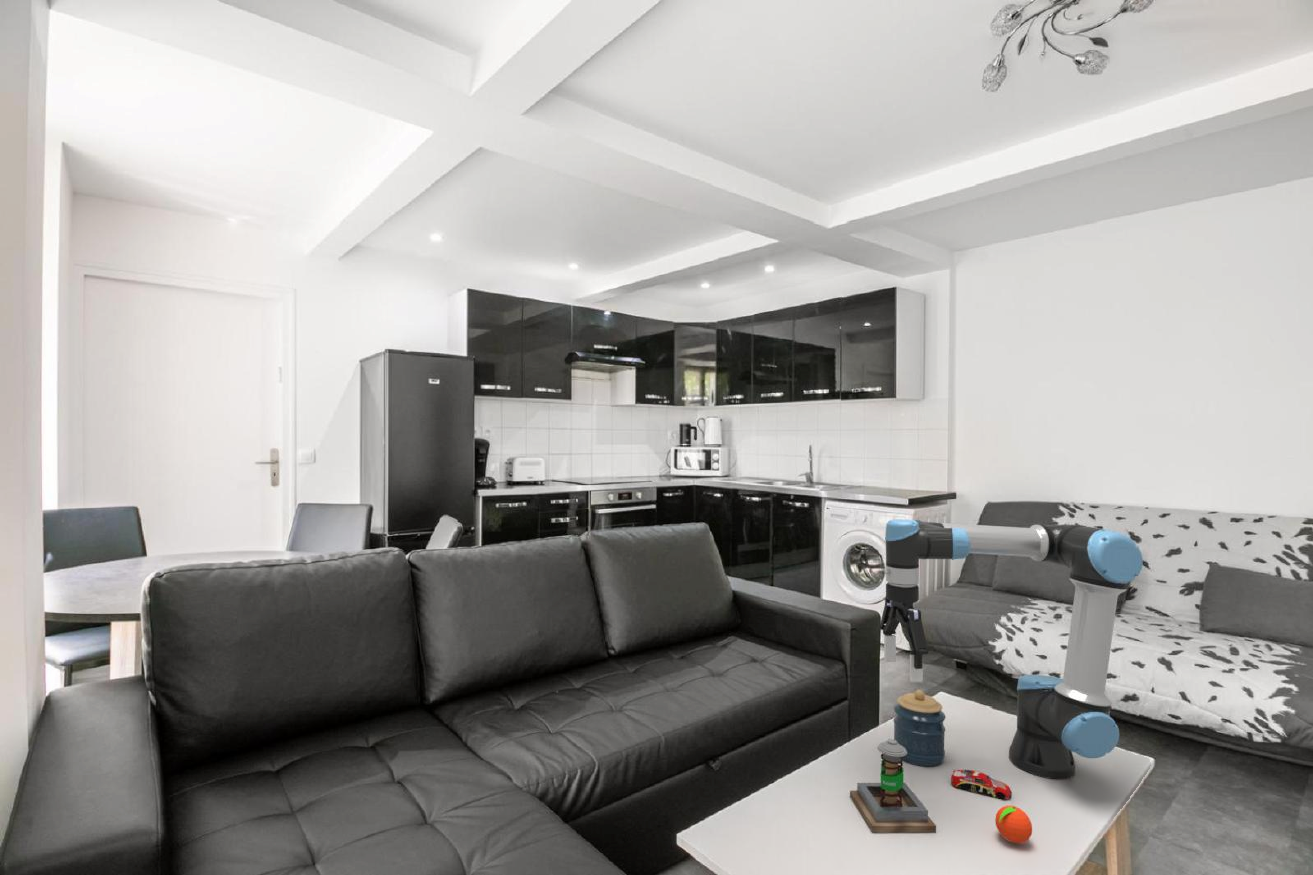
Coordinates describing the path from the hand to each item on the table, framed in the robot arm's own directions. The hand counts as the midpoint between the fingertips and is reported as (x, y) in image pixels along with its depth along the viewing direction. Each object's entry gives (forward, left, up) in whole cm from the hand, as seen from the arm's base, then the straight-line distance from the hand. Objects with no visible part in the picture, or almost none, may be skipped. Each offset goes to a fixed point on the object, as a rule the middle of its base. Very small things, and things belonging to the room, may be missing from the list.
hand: (902, 671), depth 155 cm
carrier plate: (+6, +10, -29) cm, 31 cm away
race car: (-20, 0, -30) cm, 36 cm away
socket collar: (+6, +10, -28) cm, 30 cm away
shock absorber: (+6, +10, -28) cm, 30 cm away
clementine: (-16, +20, -29) cm, 39 cm away
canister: (-13, -17, -29) cm, 36 cm away
